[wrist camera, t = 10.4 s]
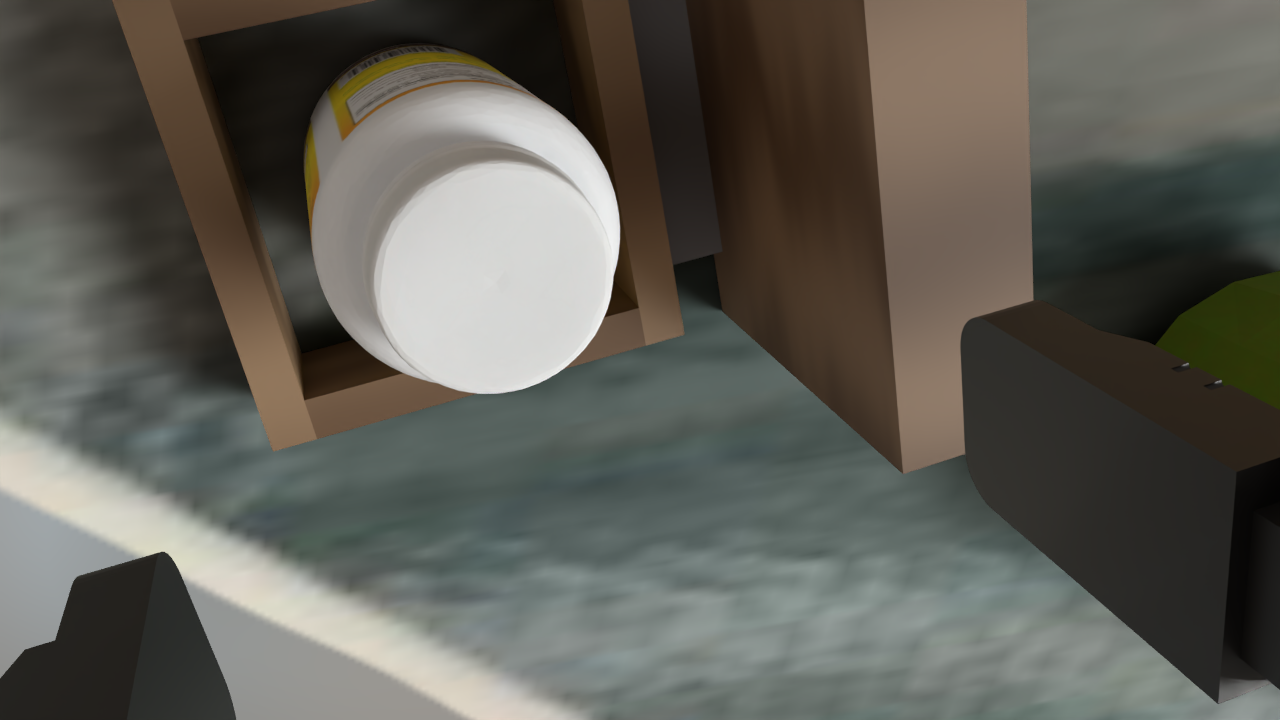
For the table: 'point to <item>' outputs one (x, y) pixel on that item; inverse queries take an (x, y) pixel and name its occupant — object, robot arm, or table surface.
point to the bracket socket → (702, 195)
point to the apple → (1234, 336)
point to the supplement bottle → (457, 220)
